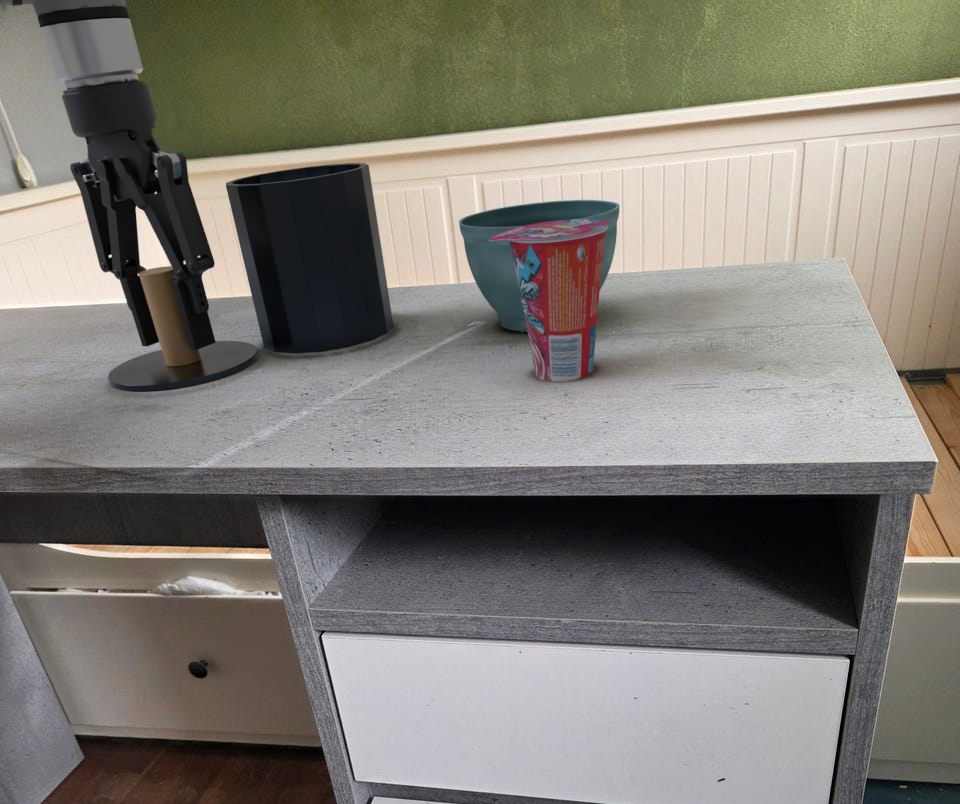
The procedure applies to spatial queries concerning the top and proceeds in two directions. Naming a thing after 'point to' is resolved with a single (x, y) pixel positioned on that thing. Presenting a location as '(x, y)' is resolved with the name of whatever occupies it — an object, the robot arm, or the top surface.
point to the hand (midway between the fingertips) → (178, 344)
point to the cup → (559, 292)
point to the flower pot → (495, 257)
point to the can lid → (176, 346)
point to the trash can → (312, 256)
